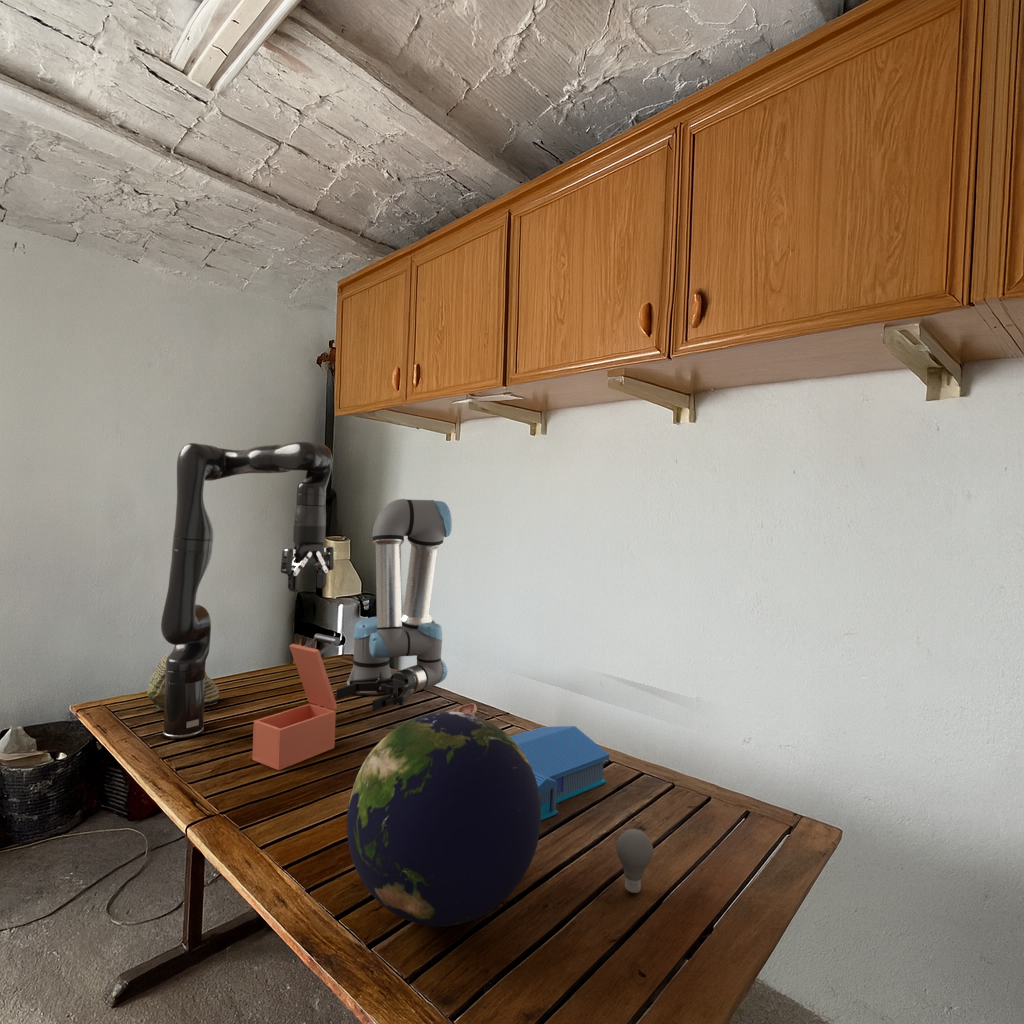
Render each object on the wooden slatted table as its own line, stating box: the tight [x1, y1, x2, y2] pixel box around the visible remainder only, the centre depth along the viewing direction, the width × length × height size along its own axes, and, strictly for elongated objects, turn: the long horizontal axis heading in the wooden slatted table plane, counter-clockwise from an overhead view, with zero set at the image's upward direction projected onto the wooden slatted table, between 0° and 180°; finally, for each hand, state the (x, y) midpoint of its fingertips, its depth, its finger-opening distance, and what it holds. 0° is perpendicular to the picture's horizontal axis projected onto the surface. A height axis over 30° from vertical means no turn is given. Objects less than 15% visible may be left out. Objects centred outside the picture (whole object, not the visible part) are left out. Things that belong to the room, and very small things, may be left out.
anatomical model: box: [444, 702, 478, 716], centre depth 183 cm, size 13×4×12 cm
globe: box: [346, 711, 542, 928], centre depth 99 cm, size 30×30×30 cm
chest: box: [251, 703, 337, 771], centre depth 155 cm, size 17×10×9 cm, turn 148°
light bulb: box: [615, 828, 654, 894], centre depth 106 cm, size 6×6×10 cm
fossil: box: [147, 654, 221, 712], centre depth 185 cm, size 9×18×15 cm, turn 132°
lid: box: [289, 632, 341, 711], centre depth 162 cm, size 17×10×9 cm
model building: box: [509, 725, 610, 822], centre depth 140 cm, size 39×24×10 cm, turn 132°
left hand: (307, 589), depth 156 cm, fingers open, 8 cm apart
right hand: (354, 699), depth 171 cm, fingers open, 13 cm apart
